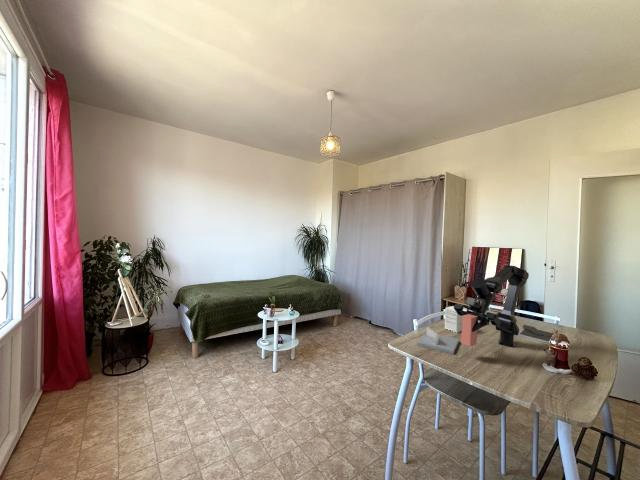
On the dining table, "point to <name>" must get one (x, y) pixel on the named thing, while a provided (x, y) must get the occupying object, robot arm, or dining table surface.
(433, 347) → the shelf board
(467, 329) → the boxed book
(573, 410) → the dining table surface
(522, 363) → the dining table surface
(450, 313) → the supplement box
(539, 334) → the picture frame
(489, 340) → the dining table surface
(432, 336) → the bookend
